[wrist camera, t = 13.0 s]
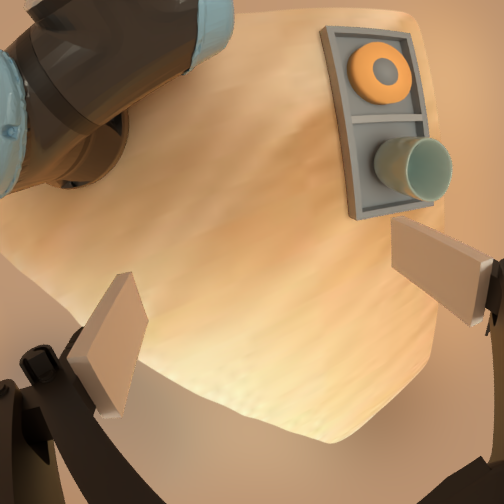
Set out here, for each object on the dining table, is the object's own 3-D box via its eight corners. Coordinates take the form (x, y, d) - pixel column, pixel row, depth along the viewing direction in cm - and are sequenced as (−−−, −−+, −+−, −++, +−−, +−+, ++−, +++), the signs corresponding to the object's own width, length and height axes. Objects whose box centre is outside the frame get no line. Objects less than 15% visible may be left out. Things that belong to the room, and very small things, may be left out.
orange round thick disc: (334, 71, 36) (343, 66, 33) (369, 36, 34) (379, 30, 31) (379, 117, 38) (390, 116, 35) (409, 80, 37) (422, 77, 34)
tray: (319, 31, 34) (325, 25, 31) (401, 37, 35) (410, 33, 32) (349, 216, 43) (356, 220, 41) (424, 202, 44) (433, 205, 41)
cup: (376, 127, 39) (418, 125, 29) (415, 151, 40) (459, 156, 31) (358, 176, 41) (396, 185, 31) (398, 197, 42) (440, 212, 33)
